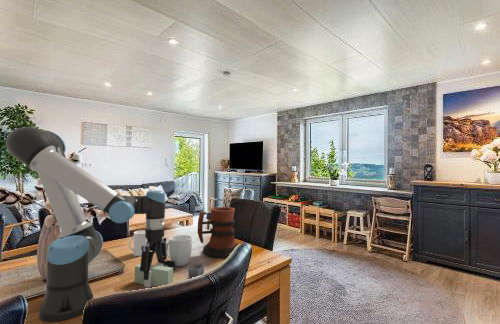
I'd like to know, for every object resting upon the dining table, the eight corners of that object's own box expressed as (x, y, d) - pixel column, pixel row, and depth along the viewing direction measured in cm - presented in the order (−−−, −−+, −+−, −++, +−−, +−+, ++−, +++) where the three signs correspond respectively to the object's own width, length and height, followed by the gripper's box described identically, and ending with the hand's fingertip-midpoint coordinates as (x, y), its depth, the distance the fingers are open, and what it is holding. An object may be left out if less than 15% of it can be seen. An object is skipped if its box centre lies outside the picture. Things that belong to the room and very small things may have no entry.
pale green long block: (168, 288, 105) (168, 271, 105) (134, 283, 109) (134, 266, 109) (172, 284, 108) (173, 267, 108) (140, 279, 112) (140, 263, 112)
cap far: (167, 274, 117) (167, 266, 117) (158, 273, 118) (159, 264, 118) (174, 269, 123) (174, 261, 123) (166, 268, 124) (166, 260, 124)
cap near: (197, 279, 113) (197, 270, 113) (188, 278, 114) (188, 268, 114) (203, 273, 119) (203, 264, 119) (195, 272, 120) (195, 263, 120)
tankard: (245, 256, 142) (246, 211, 142) (199, 261, 134) (200, 213, 134) (235, 244, 163) (236, 205, 163) (195, 247, 155) (196, 206, 155)
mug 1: (132, 259, 135) (132, 236, 135) (123, 255, 140) (124, 233, 141) (152, 253, 145) (153, 231, 145) (144, 249, 150) (144, 229, 150)
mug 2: (157, 264, 129) (158, 237, 129) (172, 257, 139) (173, 232, 139) (181, 269, 123) (182, 242, 123) (195, 262, 133) (196, 236, 133)
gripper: (147, 234, 98) (145, 295, 98) (176, 223, 117) (174, 274, 117) (130, 232, 100) (128, 292, 100) (161, 222, 119) (160, 271, 119)
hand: (153, 282), depth 109 cm, fingers open, 7 cm apart
